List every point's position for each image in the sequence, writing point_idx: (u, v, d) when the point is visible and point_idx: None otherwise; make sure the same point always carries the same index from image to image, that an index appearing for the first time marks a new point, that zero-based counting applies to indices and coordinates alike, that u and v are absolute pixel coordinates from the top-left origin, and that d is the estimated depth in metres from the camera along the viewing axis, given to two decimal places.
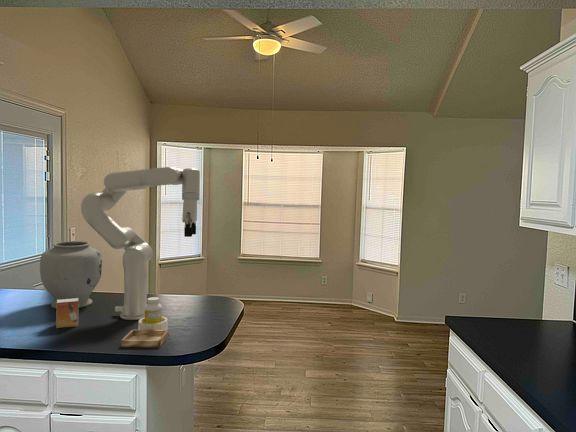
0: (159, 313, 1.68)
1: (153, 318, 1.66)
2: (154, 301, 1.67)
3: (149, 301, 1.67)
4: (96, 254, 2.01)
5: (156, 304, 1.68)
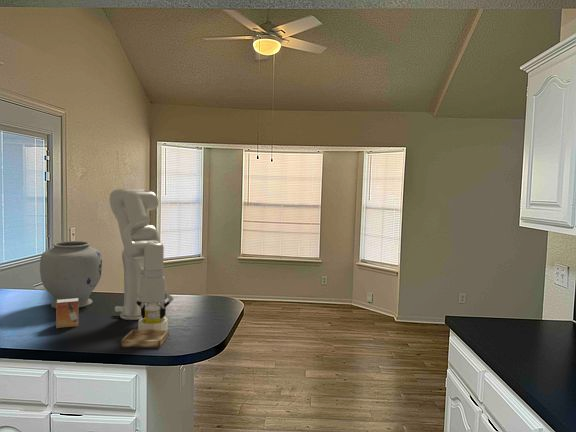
0: (159, 313, 1.68)
1: (153, 318, 1.66)
2: None
3: None
4: (96, 254, 2.01)
5: (156, 304, 1.68)
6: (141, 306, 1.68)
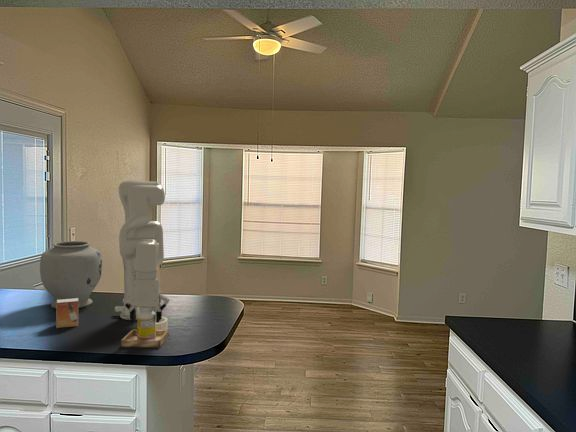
0: (153, 322, 1.55)
1: (145, 327, 1.53)
2: (148, 309, 1.54)
3: (142, 308, 1.54)
4: (96, 254, 2.01)
5: (149, 312, 1.55)
6: (130, 309, 1.55)
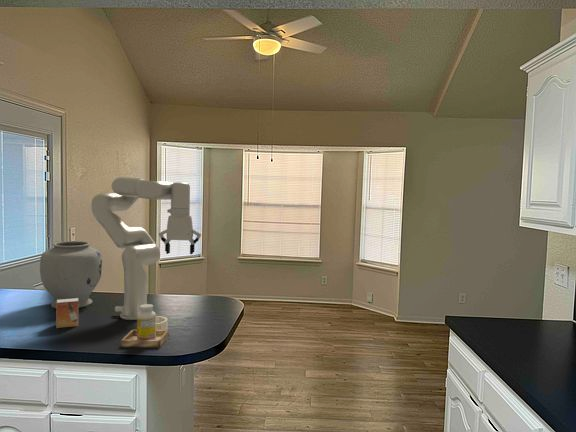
0: (153, 322, 1.55)
1: (146, 327, 1.53)
2: (148, 309, 1.54)
3: (142, 308, 1.54)
4: (96, 254, 2.01)
5: (149, 312, 1.55)
6: (165, 242, 1.72)
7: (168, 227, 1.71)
